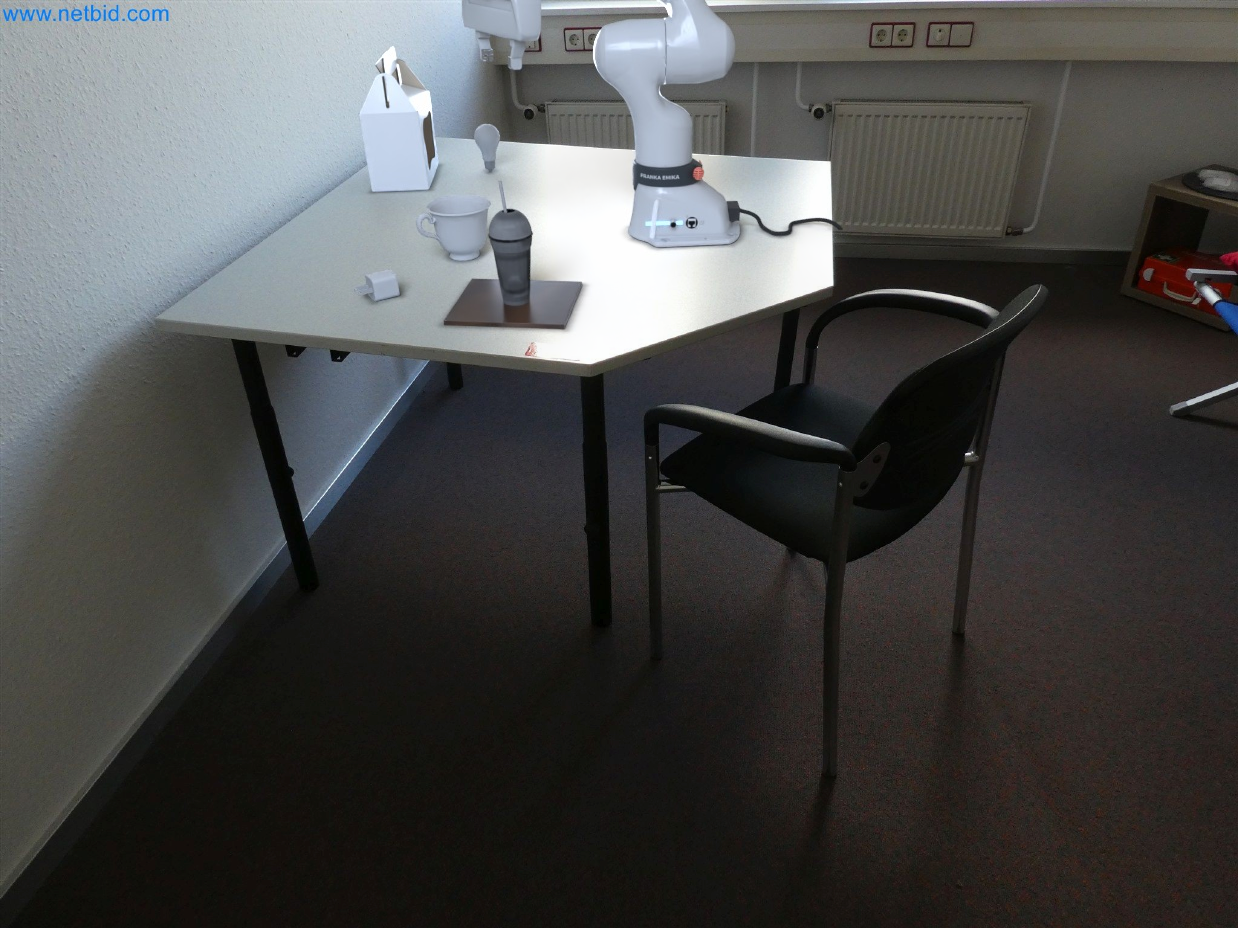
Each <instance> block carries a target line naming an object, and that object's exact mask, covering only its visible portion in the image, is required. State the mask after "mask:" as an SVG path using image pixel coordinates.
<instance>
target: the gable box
mask: <svg viewBox="0 0 1238 928" xmlns="http://www.w3.org/2000/svg"><path fill="white" fill-rule="evenodd" d="M395 49H396V48H395V47H394V46H391V47H390V48H389V49H388V50H387V51H385V53H383V55H382V56H381V57H380V58H379V59H378V61H377V62H376V63H375V64H374V66H375V68H376V69H377V71H378V72H379V74H377V75H376V76H375V77H374V80H373V82H372V84H371V85H370V89H369V91H368V93H367V95H366V97H365V100H364V101H363V104H362V107H361V109H360V111H359V112H358V120H359V125H360V131H361V135H362V143H363V149H364V155H365V160H366V166H367V171H368V177H369V183H370V188H371V192H372V193H385V192H386V193H387V192H410V191H411V192H413V191H429V190H430V188H431V185H432V183H433V180H434V179H435V175H436V172H437V170H438V167H439V163H440V162H439V155H438V148H437V140H436V132H435V125H434V116H433V108H432V101H431V94H430V90H428V89H427V87H426V86H425V85H424V84H423V82H422V81H421V79H419V78H418V76H417V75H416V74H415V72H414V71H413V70H412V69H411V67H410V66H409V65H408V64H407V63H406V61H404V60H403V59H401V58H397V55H396V50H395Z"/></svg>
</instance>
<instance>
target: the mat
mask: <svg viewBox="0 0 1238 928" xmlns="http://www.w3.org/2000/svg"><path fill="white" fill-rule="evenodd" d="M582 287H583V282H582V281H578V280H577V281H576V280H571V281H570V280H541V279H538V280H537V279H530V300H529V302H528V303H526V304H523V305H518V306H511V305H507V304H505V303H504V302H503V297H502V293H501V289H500V284H499V278H471V279H470V281H469V282H468V284H467V285H466V287H465V288H464V290H463V292H462V293H461V294H460V295H459V297H458V299H457V300H456V301H455V303H454V304H453V306H452V307H451V309H450V310H449V312H448V314H447V315H446V317H445V318H444V319H443V324H444V326H465V327H492V328H493V327H495V328H520V329H522V328H523V329H547V330H565V329H566V326H567V324H568V322H569V319H570V316H571V314H572V312H573V309H574V306H575V305H576V301H577V299H578V296H579V295H580V291H581V290H582Z"/></svg>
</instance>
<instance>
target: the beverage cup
mask: <svg viewBox="0 0 1238 928" xmlns="http://www.w3.org/2000/svg"><path fill="white" fill-rule="evenodd" d="M498 188H499V193H500V198H501V203H502V209H501V210H499V211H498V212H497V213H495V214H494V215H493V217H492V218H491V220H490V223H489V226H488V233H487V238H488V239H489V242H490V246H491V250H492V251H493V256H494V260H495V262H494V263H495V267H496V273H497V277H498V278H497V279H499V284H500V289H501V293H502V297H503V302H504V303H505V304H507V305H511V306H518V305H523V304H526V303H528V302H529V300H530V280H531V269H532V268H531V262H532V261H531V257H532V256H531V253H532V252H531V251H532V249H531V247H532V246H533V245H532V244H533V235H534V232H533V230H532V225H531V223H530V221H529V219H528V218H527V216H526V215H525V214H524V213H523V212H522V211H520V210H518V209H516V208H507V203H506V198H505V192H504V188H503V181H502V180H499V181H498Z"/></svg>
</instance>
